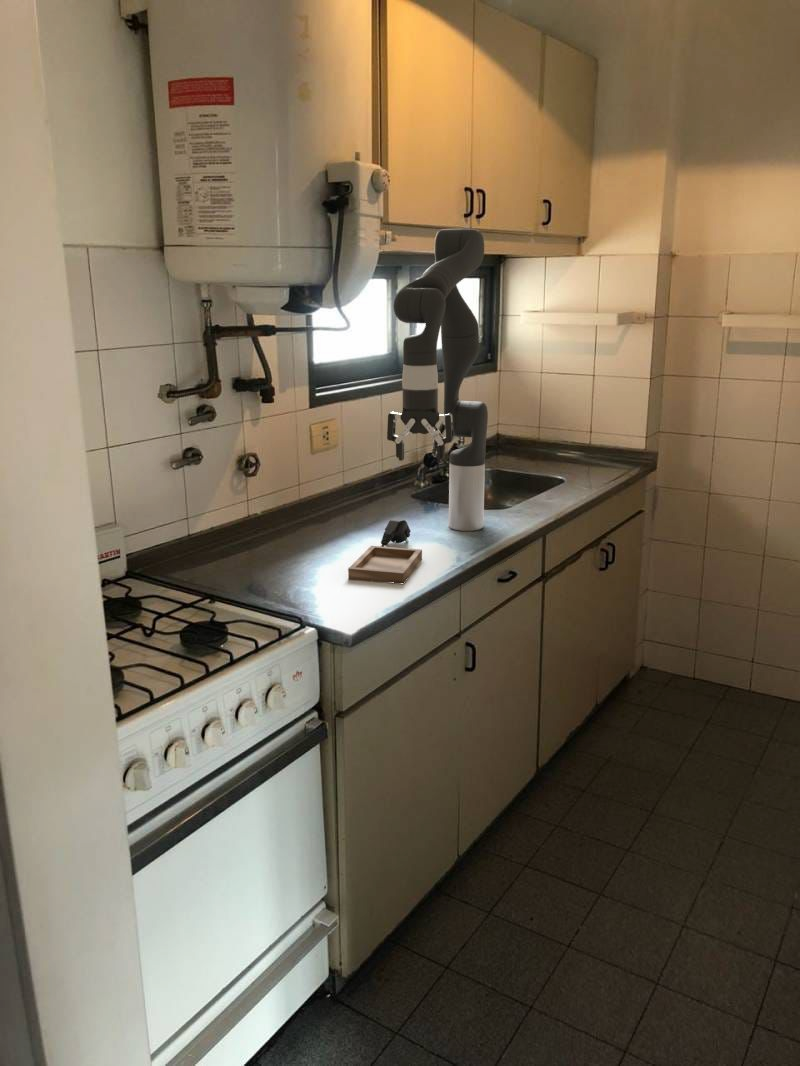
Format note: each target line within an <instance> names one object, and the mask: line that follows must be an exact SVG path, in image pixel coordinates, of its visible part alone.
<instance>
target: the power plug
mask: <svg viewBox="0 0 800 1066" xmlns="http://www.w3.org/2000/svg"><path fill="white" fill-rule="evenodd" d="M410 536H411V529H410V526H409V524H408V522H407V521H406V520H405V519H401V518H395V519H390V520H389V521H388V522H387V525H386V527H385V528H384V532H383V534H382V537H381V541H380V544H381V545H380V546H382V547H388V545H389V543H390V542H391V543H394V544H395V543H396V544H401V543H404V542H405V543H409V539H408V538H410Z"/></svg>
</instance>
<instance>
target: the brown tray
mask: <svg viewBox="0 0 800 1066" xmlns="http://www.w3.org/2000/svg"><path fill="white" fill-rule="evenodd" d="M422 561H423V549H420V548H419V549H418V548H406V547H404V548H403V547H394V546H393V547H392V546H384V547H382V546H381V545H380V546H379V545H378V546H377V545H370V546H369V547H368V548H367V549H366V550H365V551H364V552H363V553H362V554H361V555H360V557H358V558H357V560H355V561H354V562H353V563H352V564H351V565H350V566H349V567H348V568H347V572H348V578H347V579H348V580H351V581H362V582H372V581H373V582H374V583H383V582H394V583H393V584H395V583H404V582H405V583H406V582H407V580H408V579H409V578H410V576H411V575H412V573H414V571H415V570H416V569H417V567H418V566H419V564H420V563H421V562H422ZM407 578H408V579H407ZM406 579H407V580H406ZM405 583H404V584H405Z"/></svg>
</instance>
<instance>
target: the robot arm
mask: <svg viewBox="0 0 800 1066" xmlns="http://www.w3.org/2000/svg"><path fill="white" fill-rule="evenodd" d="M484 241H485V240H484V236H483V234H482V233H481V231H480V230H478V229H475V228H443V229H440V230H438V231H437V232H436V235H435V238H434V259H435V260H434V263H433V264H431V265H430V266H428V268H426V269H425V271H424V272H423V273H422V274H421V276H420V277H419V278H417V279H415V280H413V281H411V282H409V283H407V284H405V285H404V286H403V287H401V289H399V291H398V292H397V294H396V295H395V297H394V300H393V311H394V314H395V317H396V318H397V320H399V321H400V322H402V323H404V324H425V327H424V328H423V331H421V332H420V333H418V334H417V333H416V334H412V335H408V336H406V337H405V338H404V340H403V345H402V346H403V347H402V350H403V351H402V352H403V357H402V358H403V365H402V366H403V368H402V375H401V376H402V377H401V378H402V379H401V386H402V387H401V388H402V411H401V413H400V412H399V413H398V412H396V411H391V412H390V413H388V415H387V427H386V428H387V430H386V431H387V432H386V439H387V440H388V441H391V442H394V443H395V457H396V458H397V459H398V461H401V462H403V461H404V460H405V442H404V439H405V438H406V437H407V436H408V434H409V433H411V434H414V435H416V434H421V435H427V434H430V436H431V437H432V438H433V439H434V440H435V441H436V443H437V445H436V451H437V453H436V460H437V461H436V462H437V463H442V462H443V460H445V457H446V445H447V444H449V443H451V442H453V440H455V439H454V438H455V437H456V438H471V441H470V443H469V444H468V445H466V446H464V447H461V448H457V449H454V450H452V451H451V452H450V453H449V469H448V470H449V471H448V472H449V473H448V474H449V477H448V478H449V479H448V480H449V481H448V491H449V493H448V528H450V529H452V530H456V531H462V532H463V531H464V532H465V531H466V532H469V531H471V532H472V531H478V530H481V529H483V528H484V516H485V515H484V514H485V476H486V475H485V474H486V473H485V471H486V453H487V452H486V451H487V450H486V449H487V431H488V420H489V417H488V416H489V411H488V406H487V405H486V403H485V402H483V401H478V400H477V401H472V400H460V399H459V396H460V395H459V394H460V388H461V386H462V383H463V381H464V379H465V377H466V375H467V374H468V372H469V371H470V369H471V367H472V366H473V364H474V363H475V361H476V359H477V357H478V355H479V352H480V332H479V331H480V330H479V323H478V319H477V318H476V316H475V315H474V313H473V310H472V309H471V308H470V307H469V304H467V302H466V301H465V299H464V298H463V296H462V295H461V293H460V291H459V288H458V283H460V282H461V281H463V280H464V279H465V278H467V277H468V276H469V275H470V274H472V273H473V272H475V271H476V270H477V269H478V268H479V267H480V266H481V264H482V262H483V259H484V256H485V255H484V254H485V242H484ZM439 334H440V335H439ZM439 336H441V337H440V338H441V339H440V340H441V351H442V363H443V390H444V391H443V414H440V413H439V407H438V406H439V401H438V400H439V397H438V396H439V387H438V385H439V375H438V373H439V372H438V367H437V366H438V365H437V364H438V363H437V360H438V359H437V353H438V351H437V350H438V349H437V348H438V339H439ZM399 420H401V422H402V423H403V425H404V427H403V429H402V430H401V431H400V432H399V434H398V435H397V434H396V425H397V423H398V422H399ZM439 421H441V423H442V425H444V430H445V437H444V435H443V434H442V433H441V431H440V429H439V428H438V426H437V424H438V422H439Z"/></svg>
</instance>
